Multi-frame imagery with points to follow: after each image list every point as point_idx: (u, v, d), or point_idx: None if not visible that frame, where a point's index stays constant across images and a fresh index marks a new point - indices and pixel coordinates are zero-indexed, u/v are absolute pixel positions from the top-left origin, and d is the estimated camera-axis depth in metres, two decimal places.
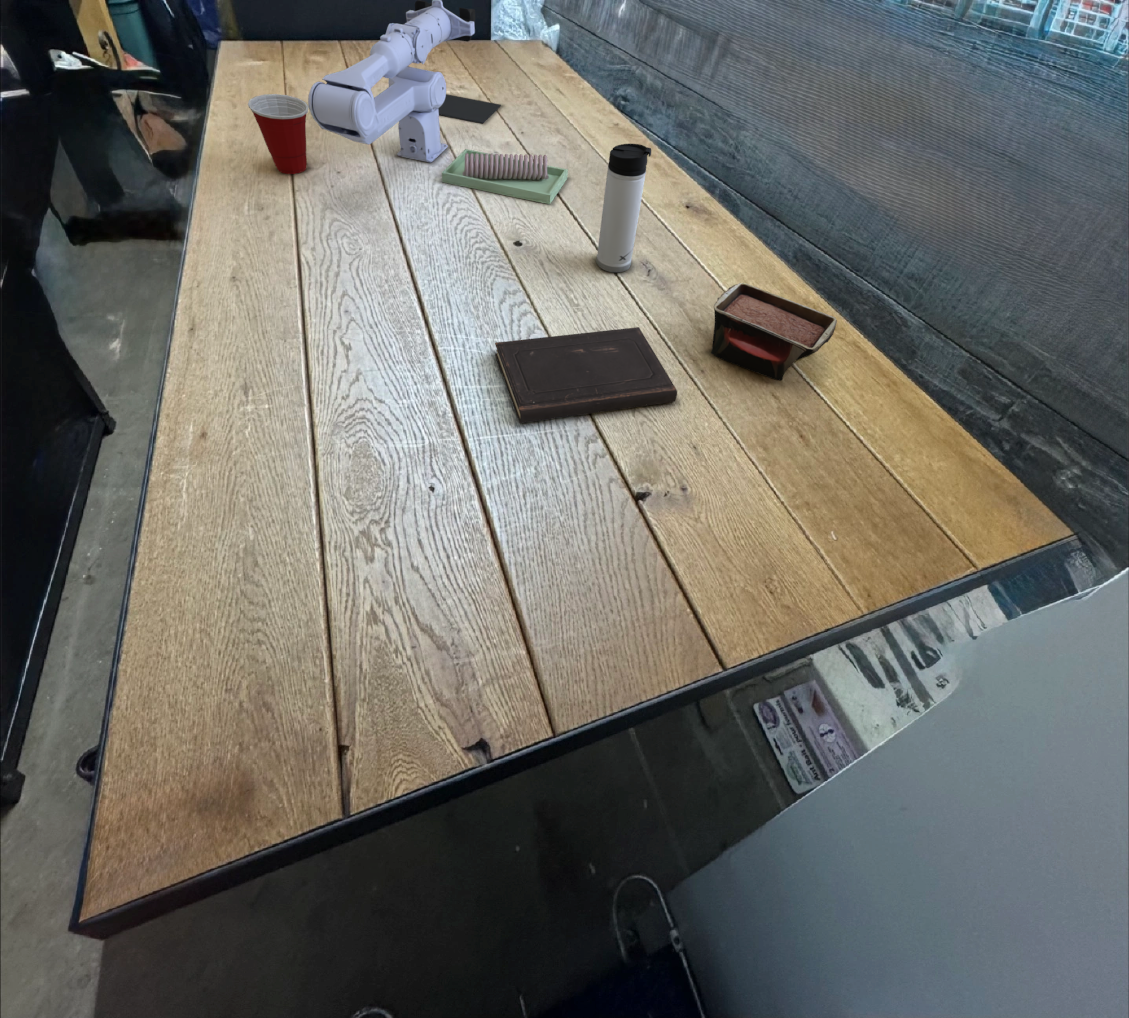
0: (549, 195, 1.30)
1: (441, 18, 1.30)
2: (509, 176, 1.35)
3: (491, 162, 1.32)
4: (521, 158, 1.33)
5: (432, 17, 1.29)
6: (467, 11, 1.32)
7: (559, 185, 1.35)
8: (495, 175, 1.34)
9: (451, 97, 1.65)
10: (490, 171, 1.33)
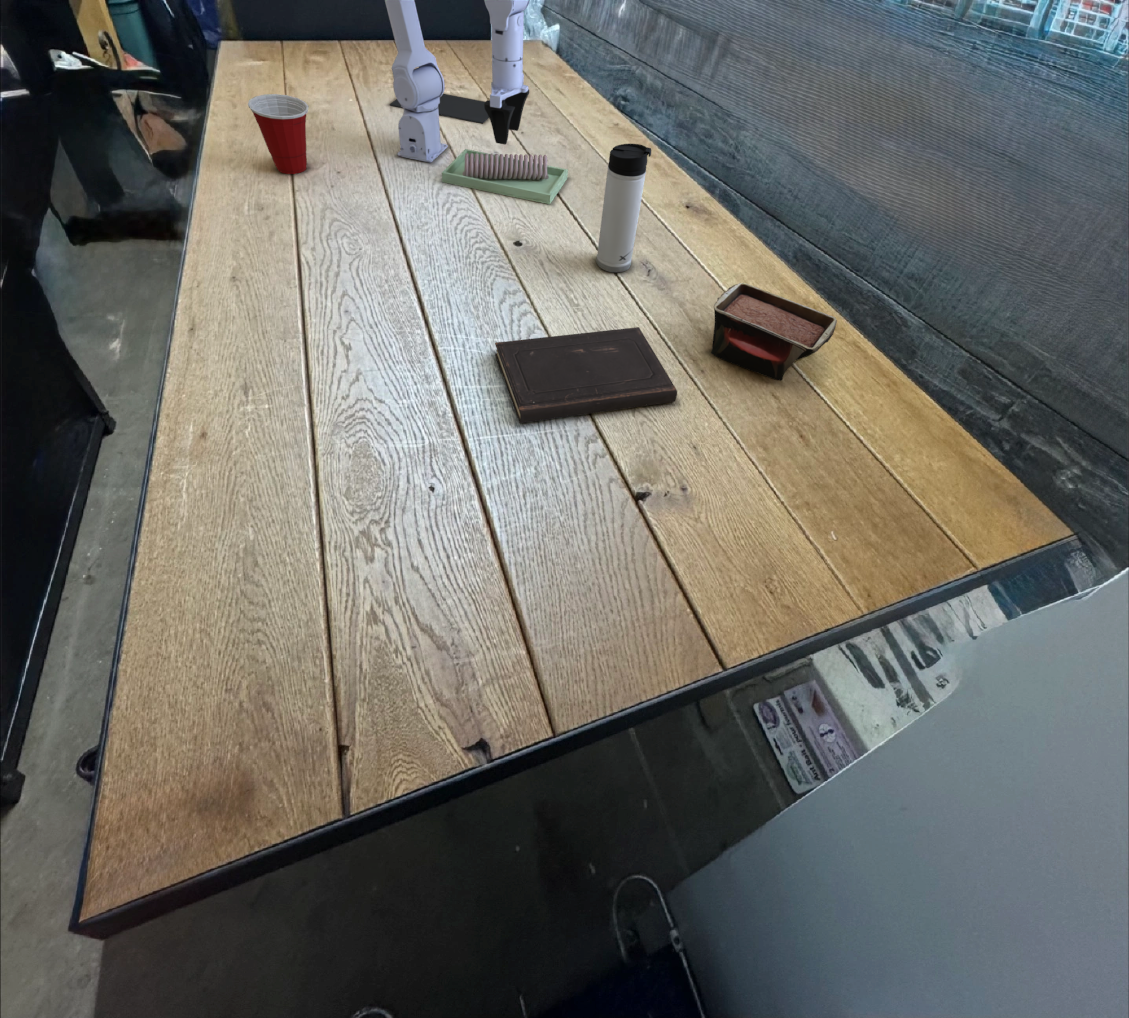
0: (549, 195, 1.30)
1: (512, 73, 1.20)
2: (509, 176, 1.35)
3: (491, 162, 1.32)
4: (521, 158, 1.33)
5: (514, 57, 1.18)
6: (509, 109, 1.22)
7: (559, 185, 1.35)
8: (495, 175, 1.34)
9: (451, 97, 1.65)
10: (490, 171, 1.33)
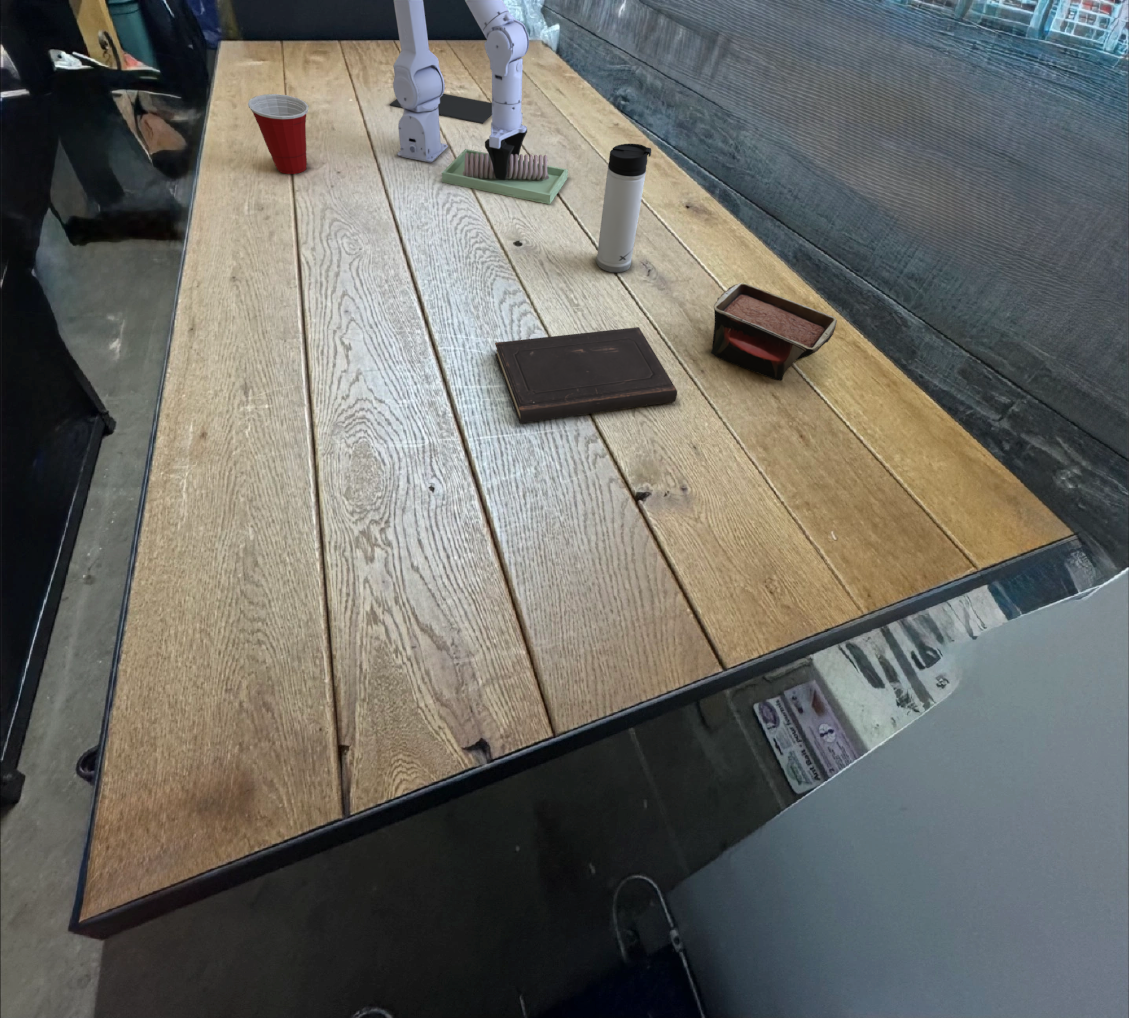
0: (549, 195, 1.30)
1: (511, 114, 1.25)
2: (509, 176, 1.35)
3: (491, 162, 1.32)
4: (521, 158, 1.33)
5: (513, 100, 1.24)
6: (509, 148, 1.27)
7: (559, 185, 1.35)
8: None
9: (451, 97, 1.65)
10: (490, 171, 1.33)
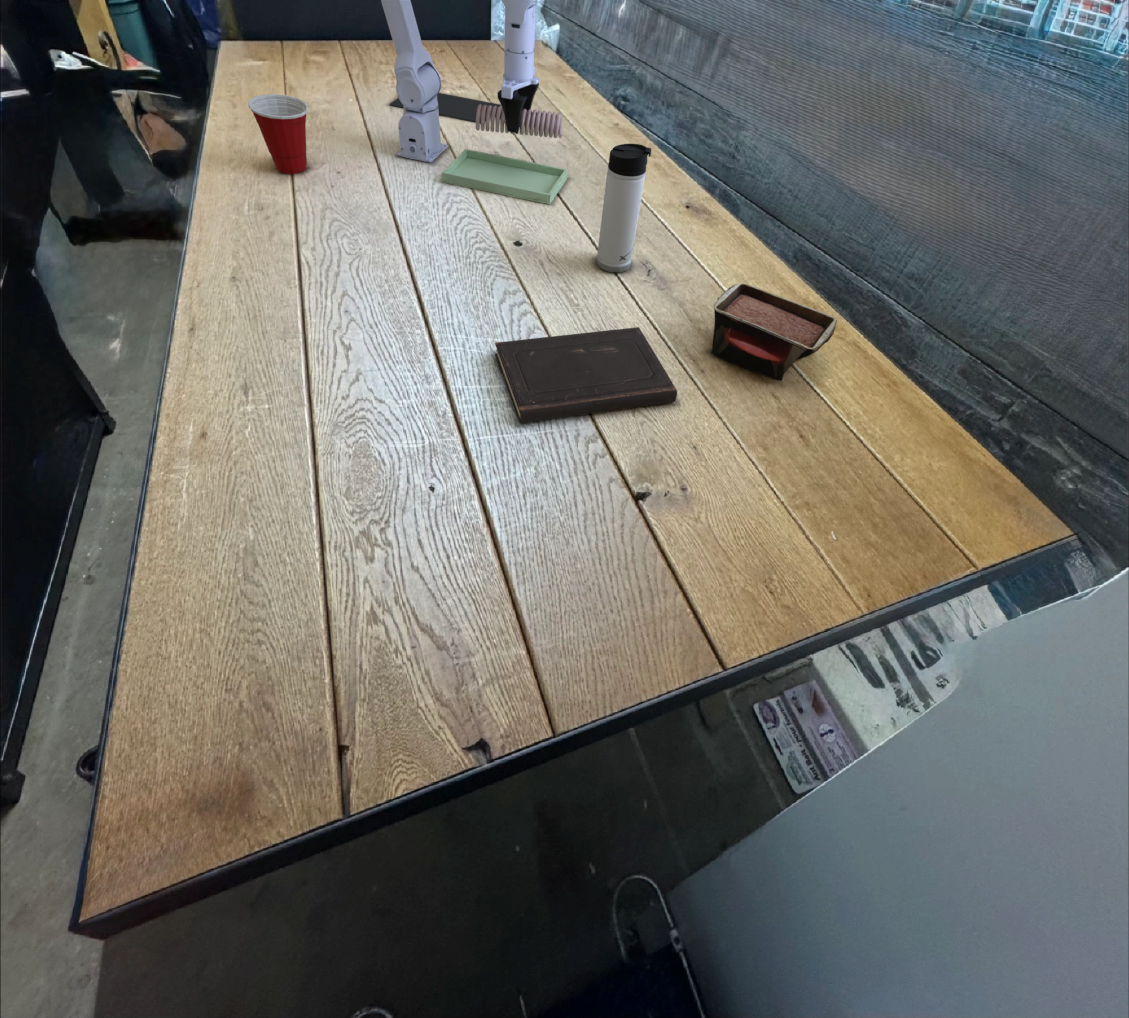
0: (549, 195, 1.30)
1: (524, 65, 1.24)
2: (520, 131, 1.33)
3: (503, 114, 1.32)
4: (534, 113, 1.32)
5: (529, 49, 1.23)
6: (522, 98, 1.26)
7: (559, 185, 1.35)
8: (506, 128, 1.33)
9: (451, 97, 1.65)
10: (501, 124, 1.32)
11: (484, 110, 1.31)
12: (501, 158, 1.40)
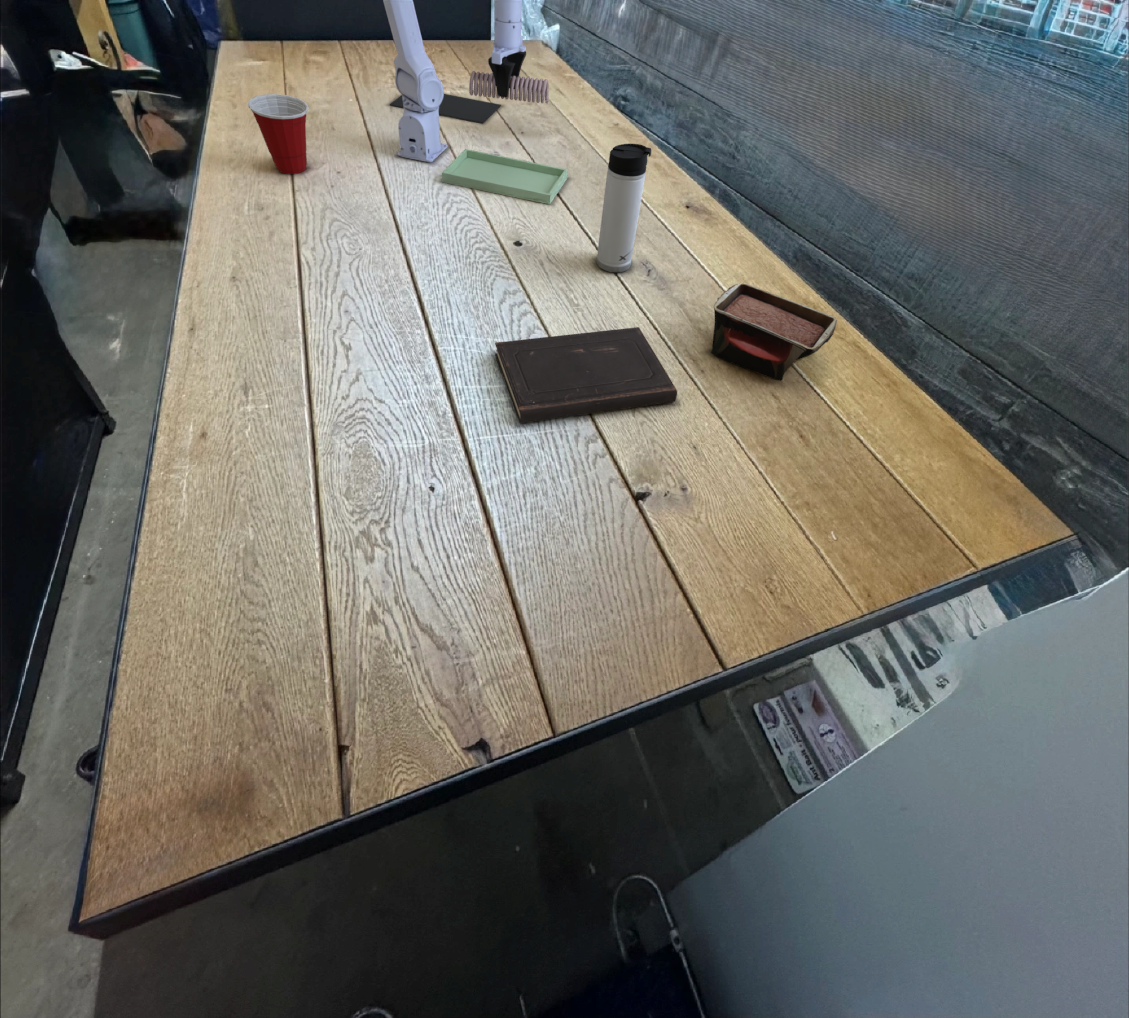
0: (549, 195, 1.30)
1: (512, 33, 1.37)
2: (510, 96, 1.46)
3: (494, 80, 1.44)
4: (522, 79, 1.44)
5: None
6: (510, 64, 1.39)
7: (559, 185, 1.35)
8: (497, 93, 1.46)
9: (451, 97, 1.65)
10: (492, 89, 1.45)
11: (477, 76, 1.44)
12: (501, 158, 1.40)
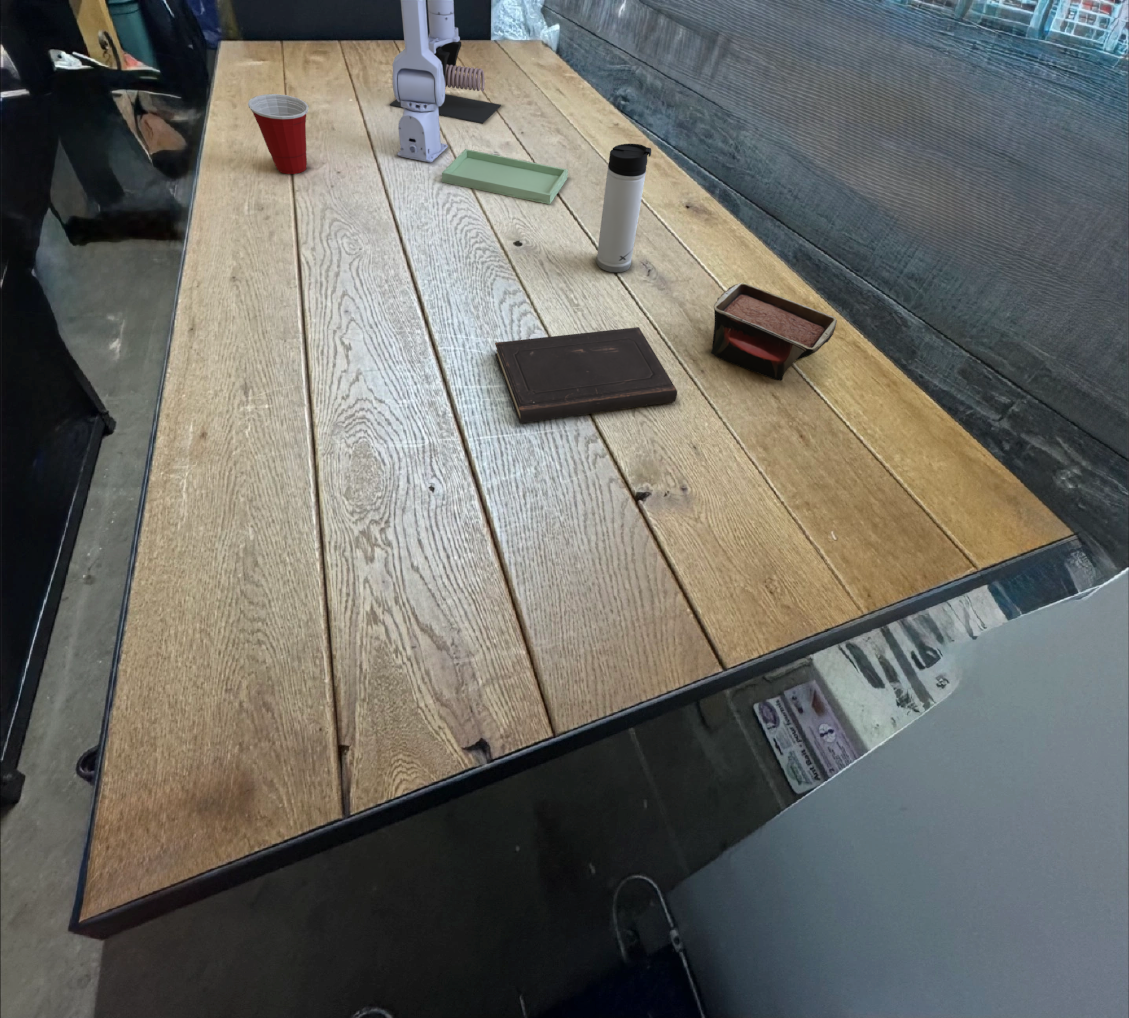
0: (549, 195, 1.30)
1: (445, 24, 1.47)
2: (447, 83, 1.56)
3: None
4: (458, 68, 1.54)
5: None
6: (444, 53, 1.49)
7: (559, 185, 1.35)
8: None
9: (451, 97, 1.65)
10: None
11: None
12: (501, 158, 1.40)
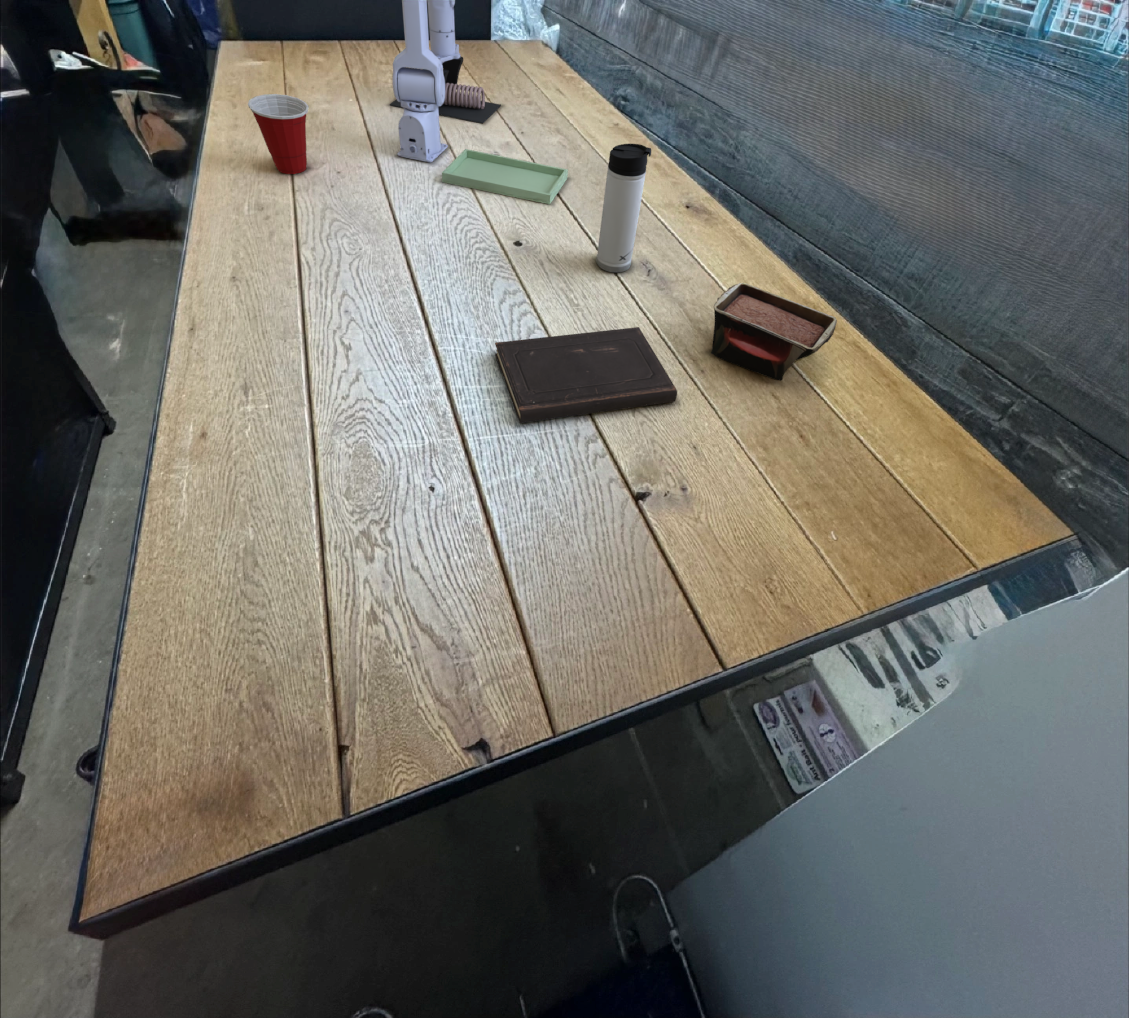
0: (549, 195, 1.30)
1: (446, 42, 1.49)
2: (448, 102, 1.59)
3: None
4: (458, 87, 1.57)
5: None
6: (444, 71, 1.51)
7: (559, 185, 1.35)
8: None
9: None
10: None
11: None
12: (501, 158, 1.40)
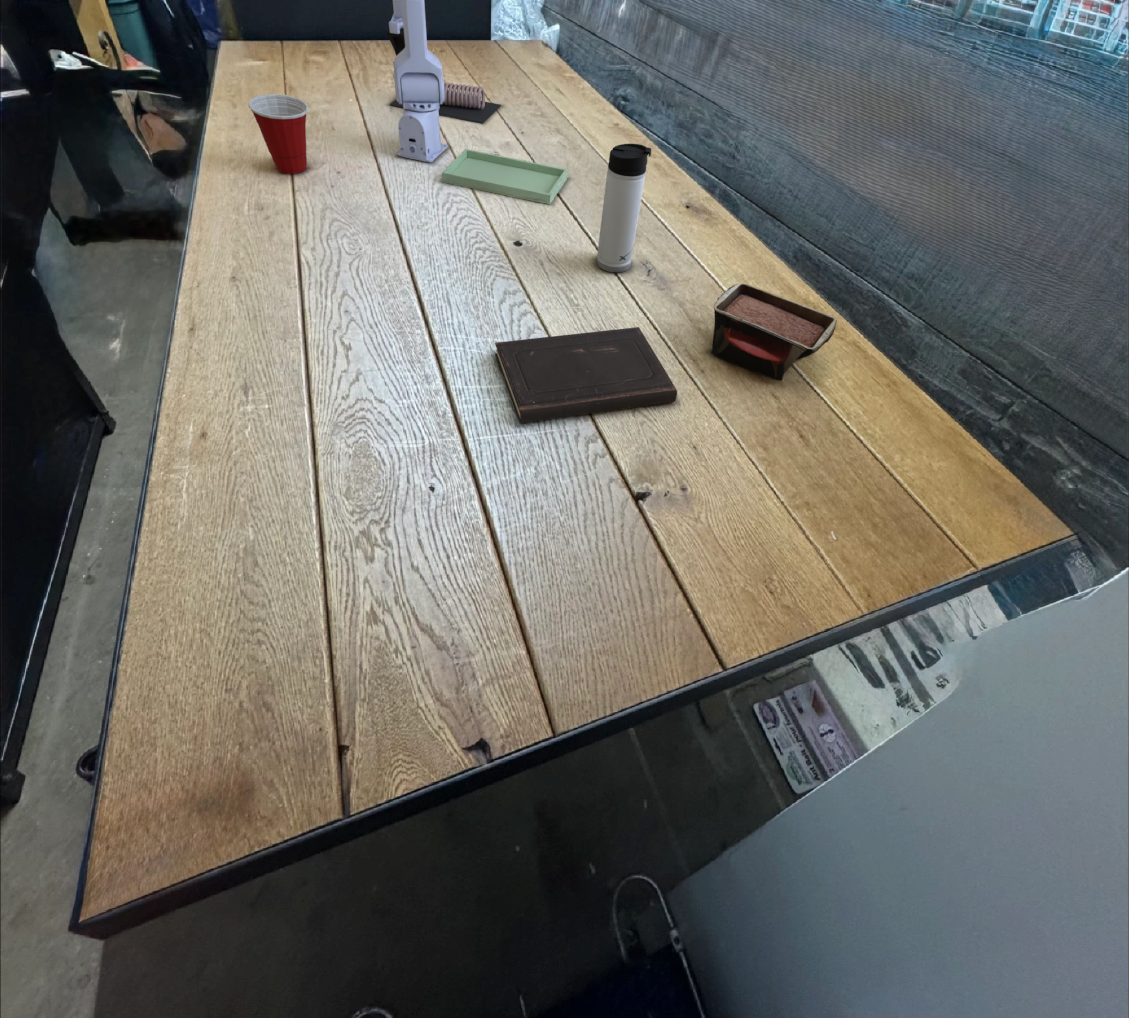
0: (549, 195, 1.30)
1: None
2: (448, 102, 1.59)
3: None
4: (458, 87, 1.57)
5: None
6: None
7: (559, 185, 1.35)
8: None
9: None
10: None
11: None
12: (501, 158, 1.40)
